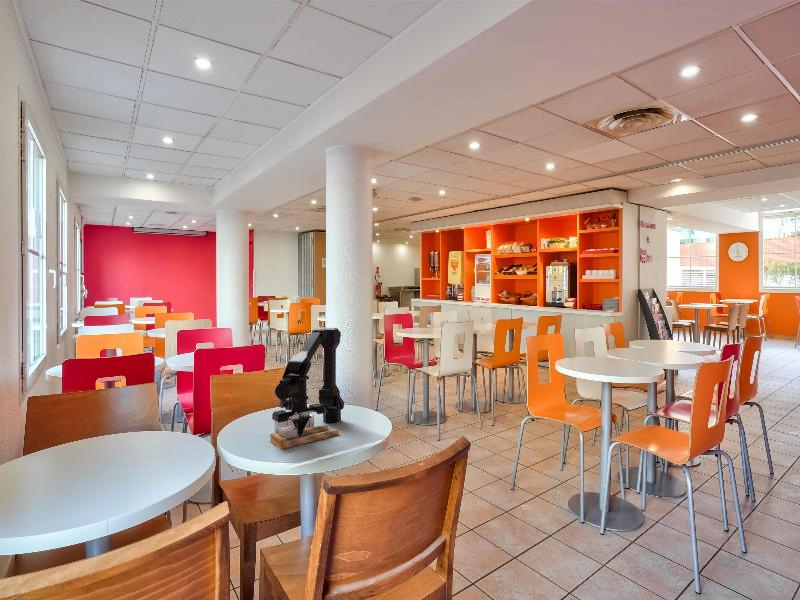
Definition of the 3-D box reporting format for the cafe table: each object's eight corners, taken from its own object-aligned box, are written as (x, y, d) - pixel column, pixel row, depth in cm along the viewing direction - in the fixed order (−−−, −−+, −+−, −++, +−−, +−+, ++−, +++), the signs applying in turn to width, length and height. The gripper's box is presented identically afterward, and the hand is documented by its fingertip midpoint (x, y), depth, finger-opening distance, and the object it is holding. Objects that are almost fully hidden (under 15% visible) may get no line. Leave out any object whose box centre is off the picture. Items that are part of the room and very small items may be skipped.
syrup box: (274, 434, 176) (312, 433, 177) (274, 419, 176) (311, 418, 177) (278, 429, 182) (314, 428, 183) (277, 414, 182) (314, 414, 182)
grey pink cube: (291, 439, 168) (291, 425, 168) (297, 442, 164) (297, 428, 164) (278, 442, 165) (278, 428, 165) (284, 445, 161) (284, 431, 161)
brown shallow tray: (324, 430, 180) (324, 420, 180) (340, 437, 171) (340, 427, 171) (269, 443, 166) (268, 433, 166) (282, 452, 157) (282, 441, 157)
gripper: (311, 386, 179) (312, 425, 179) (265, 393, 167) (266, 435, 168) (325, 390, 170) (326, 432, 170) (278, 399, 158) (279, 443, 159)
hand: (299, 435), depth 167 cm, fingers closed
